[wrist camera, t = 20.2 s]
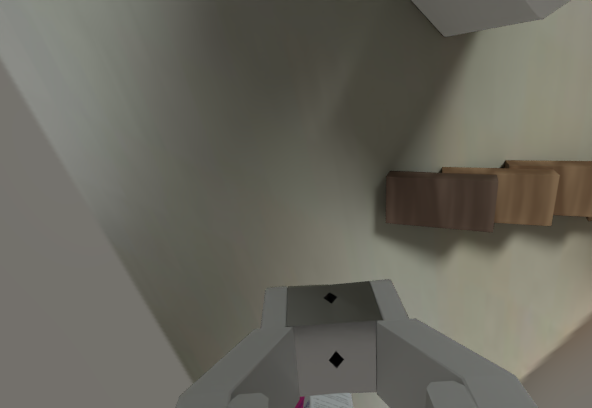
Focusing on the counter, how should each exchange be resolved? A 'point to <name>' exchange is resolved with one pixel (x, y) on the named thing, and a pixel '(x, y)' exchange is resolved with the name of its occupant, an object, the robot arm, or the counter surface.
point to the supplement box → (326, 401)
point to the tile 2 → (521, 193)
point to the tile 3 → (566, 184)
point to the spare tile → (442, 200)
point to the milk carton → (483, 13)
